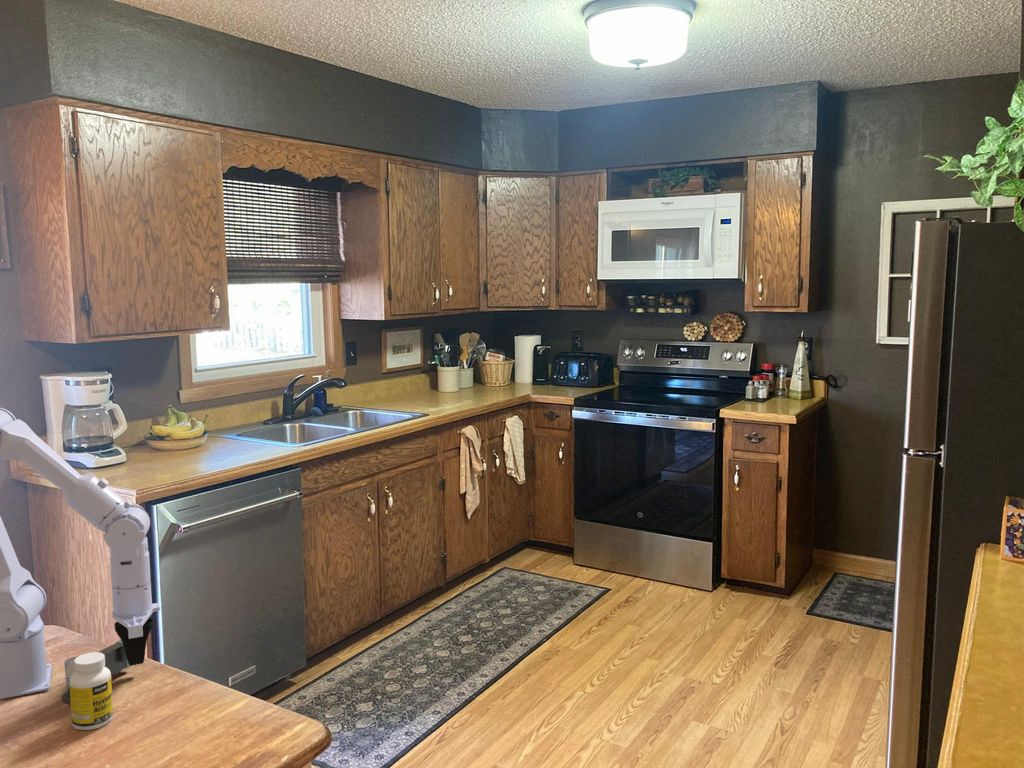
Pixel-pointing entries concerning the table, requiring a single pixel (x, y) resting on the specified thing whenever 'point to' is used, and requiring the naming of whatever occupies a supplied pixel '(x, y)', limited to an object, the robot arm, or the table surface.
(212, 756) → the table surface
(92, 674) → the supplement bottle
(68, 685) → the swing bar
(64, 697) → the pivot base
